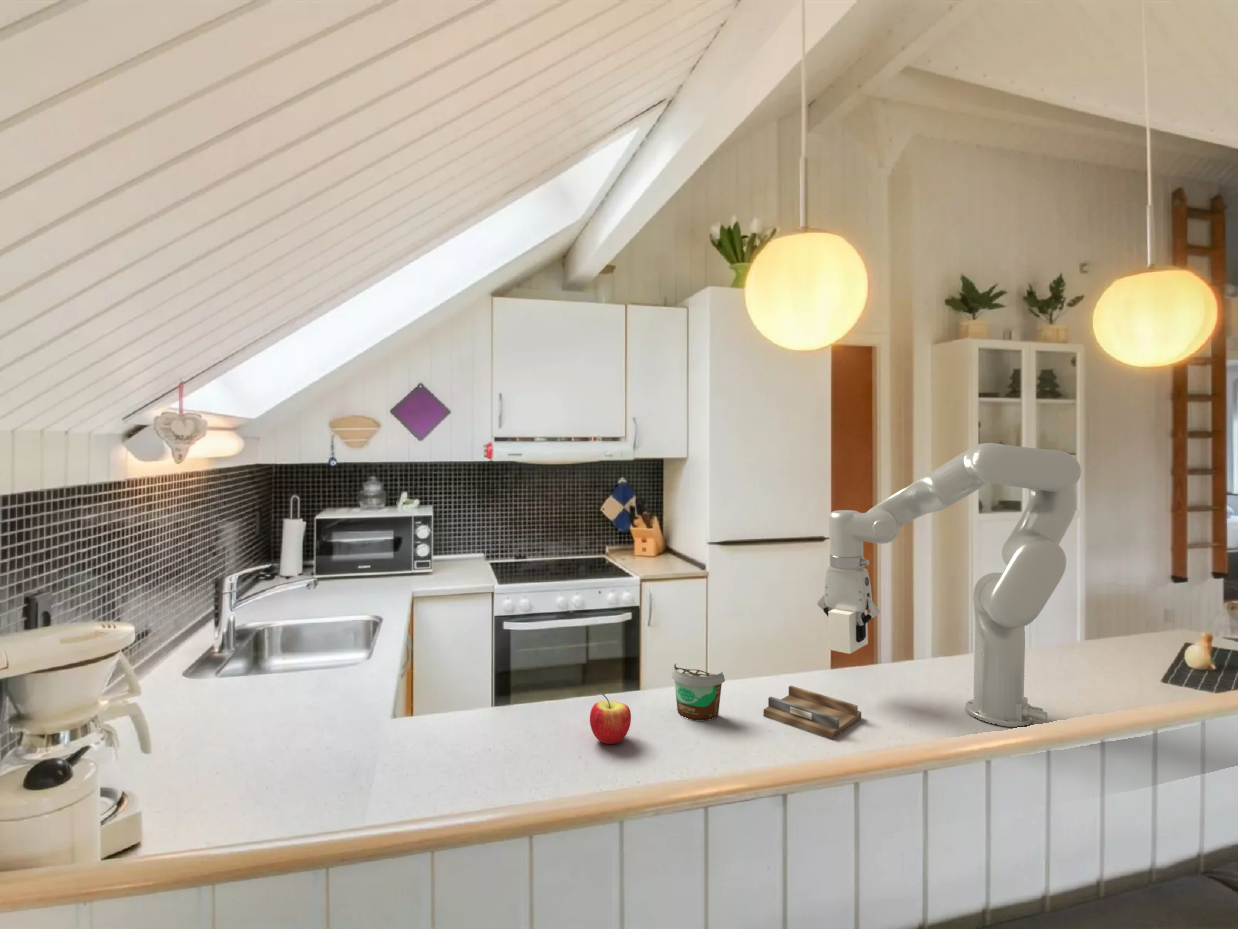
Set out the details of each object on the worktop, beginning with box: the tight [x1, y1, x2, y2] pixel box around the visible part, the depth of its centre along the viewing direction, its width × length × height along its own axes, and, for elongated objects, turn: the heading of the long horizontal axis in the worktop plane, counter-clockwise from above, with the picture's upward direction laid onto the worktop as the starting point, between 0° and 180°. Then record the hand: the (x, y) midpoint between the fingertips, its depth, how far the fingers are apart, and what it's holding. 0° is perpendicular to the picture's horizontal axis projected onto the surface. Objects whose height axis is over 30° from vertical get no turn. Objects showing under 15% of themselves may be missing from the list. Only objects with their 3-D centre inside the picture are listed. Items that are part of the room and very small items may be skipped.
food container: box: [670, 663, 726, 721], centre depth 138 cm, size 12×6×10 cm, turn 62°
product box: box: [827, 609, 869, 655], centre depth 148 cm, size 5×10×9 cm, turn 136°
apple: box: [589, 692, 632, 745], centre depth 126 cm, size 8×8×10 cm
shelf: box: [763, 685, 862, 741], centre depth 137 cm, size 16×14×4 cm
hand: (848, 637), depth 148 cm, fingers closed on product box, 5 cm apart
